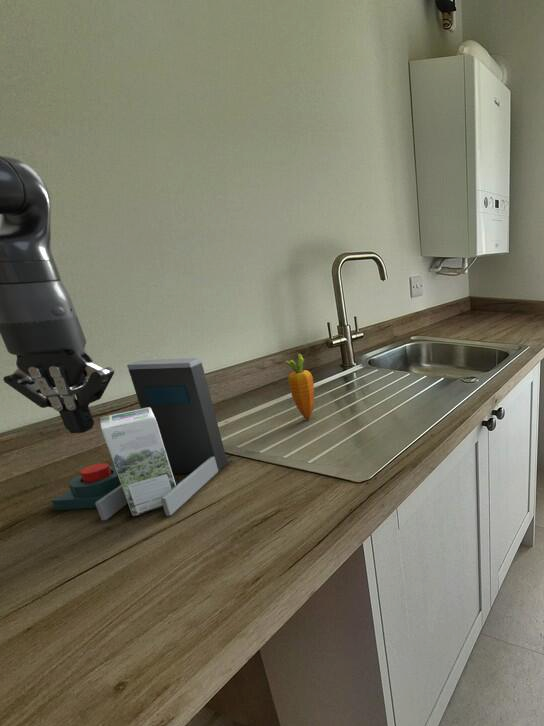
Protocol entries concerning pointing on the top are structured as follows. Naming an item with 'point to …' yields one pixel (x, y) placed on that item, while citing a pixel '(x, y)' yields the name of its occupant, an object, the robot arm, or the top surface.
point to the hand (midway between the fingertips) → (82, 430)
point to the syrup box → (138, 458)
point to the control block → (86, 492)
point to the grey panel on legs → (176, 427)
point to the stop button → (95, 472)
